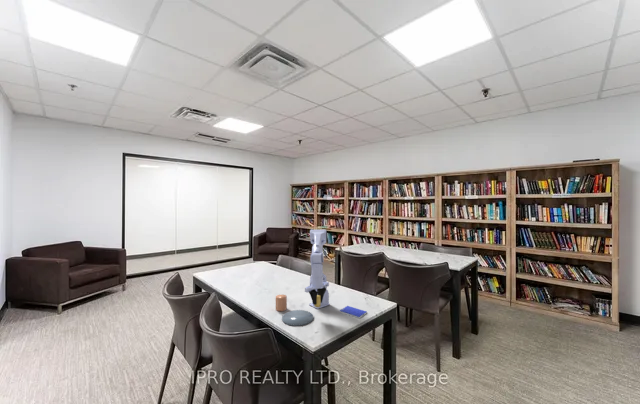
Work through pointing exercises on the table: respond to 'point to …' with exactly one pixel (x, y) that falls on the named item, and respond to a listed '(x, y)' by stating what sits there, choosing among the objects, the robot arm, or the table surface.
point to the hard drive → (353, 311)
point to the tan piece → (281, 302)
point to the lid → (297, 317)
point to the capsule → (318, 301)
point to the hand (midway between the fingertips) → (317, 303)
